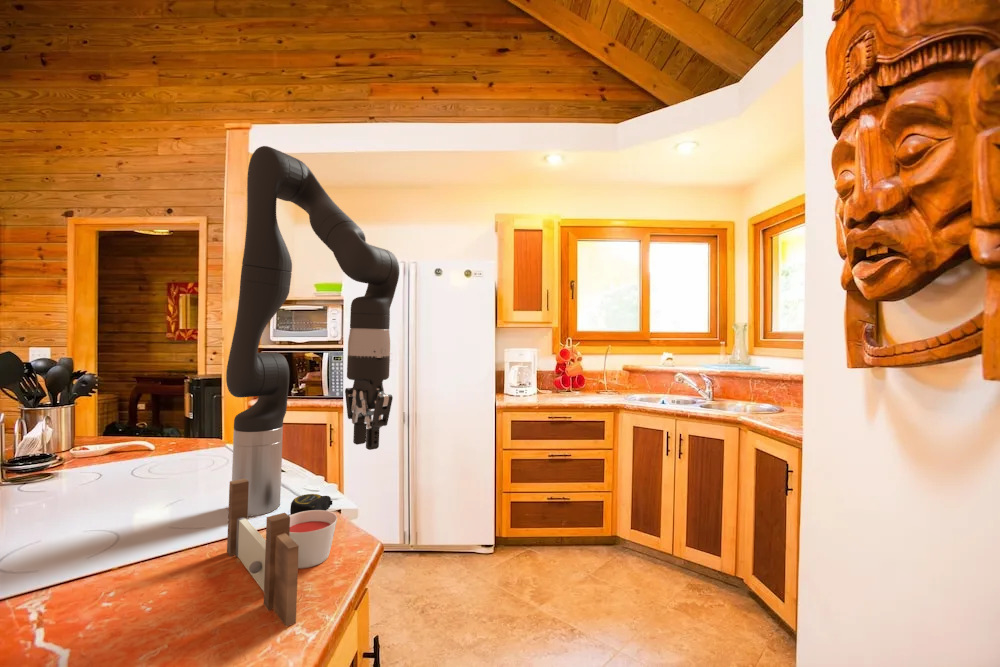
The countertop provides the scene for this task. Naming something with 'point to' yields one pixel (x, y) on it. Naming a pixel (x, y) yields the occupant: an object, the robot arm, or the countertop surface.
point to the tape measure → (310, 503)
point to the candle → (312, 535)
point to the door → (251, 550)
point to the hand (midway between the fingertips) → (365, 445)
